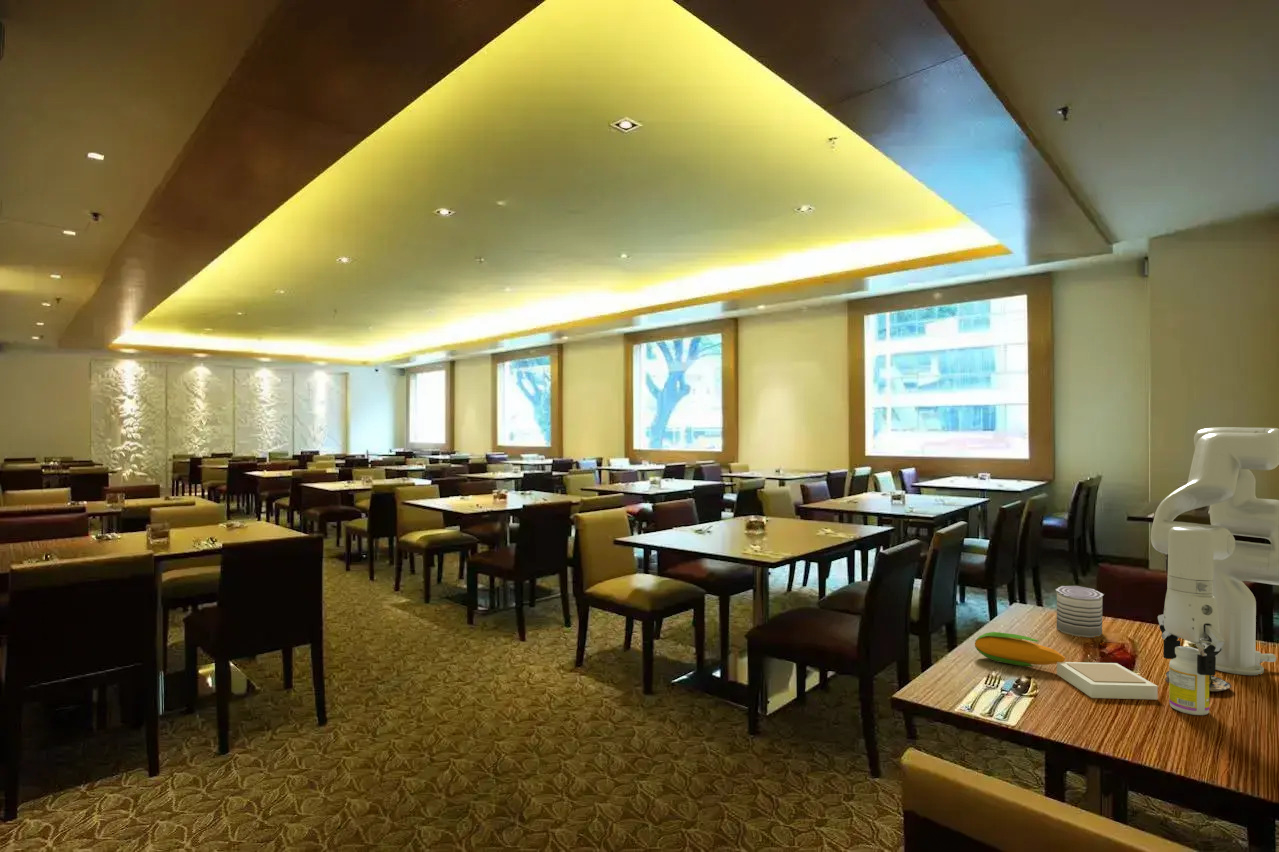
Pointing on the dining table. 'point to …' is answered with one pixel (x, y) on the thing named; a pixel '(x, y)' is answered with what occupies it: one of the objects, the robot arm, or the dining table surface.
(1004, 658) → the corn
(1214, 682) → the burger
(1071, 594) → the can
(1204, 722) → the dining table surface
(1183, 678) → the supplement bottle
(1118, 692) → the base
